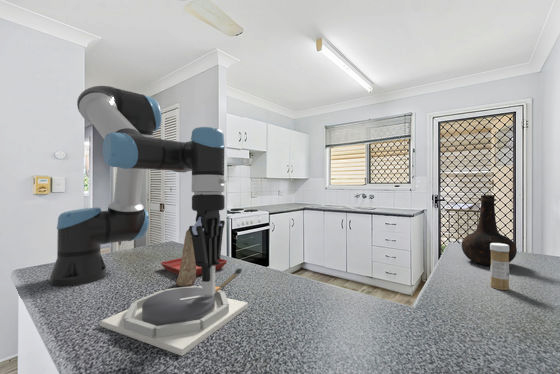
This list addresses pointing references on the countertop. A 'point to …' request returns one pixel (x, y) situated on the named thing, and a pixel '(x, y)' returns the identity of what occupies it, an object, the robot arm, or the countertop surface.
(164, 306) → the dial
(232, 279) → the tomahawk
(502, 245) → the sprinkles bottle
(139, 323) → the panel
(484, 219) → the dark brown vase
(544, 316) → the countertop surface
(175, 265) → the plant saucer
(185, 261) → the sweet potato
